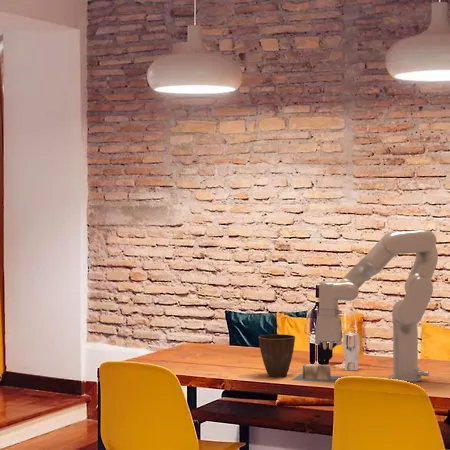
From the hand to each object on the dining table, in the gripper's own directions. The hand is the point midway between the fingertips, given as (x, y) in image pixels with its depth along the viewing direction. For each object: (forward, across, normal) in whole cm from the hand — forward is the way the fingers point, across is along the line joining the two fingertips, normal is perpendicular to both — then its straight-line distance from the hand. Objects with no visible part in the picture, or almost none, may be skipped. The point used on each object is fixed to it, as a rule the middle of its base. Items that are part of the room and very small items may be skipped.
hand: (328, 359), depth 389 cm
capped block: (+5, 0, 0) cm, 5 cm away
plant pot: (+9, +22, -4) cm, 24 cm away
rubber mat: (+8, +2, 0) cm, 9 cm away
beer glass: (+8, -4, -27) cm, 29 cm away
